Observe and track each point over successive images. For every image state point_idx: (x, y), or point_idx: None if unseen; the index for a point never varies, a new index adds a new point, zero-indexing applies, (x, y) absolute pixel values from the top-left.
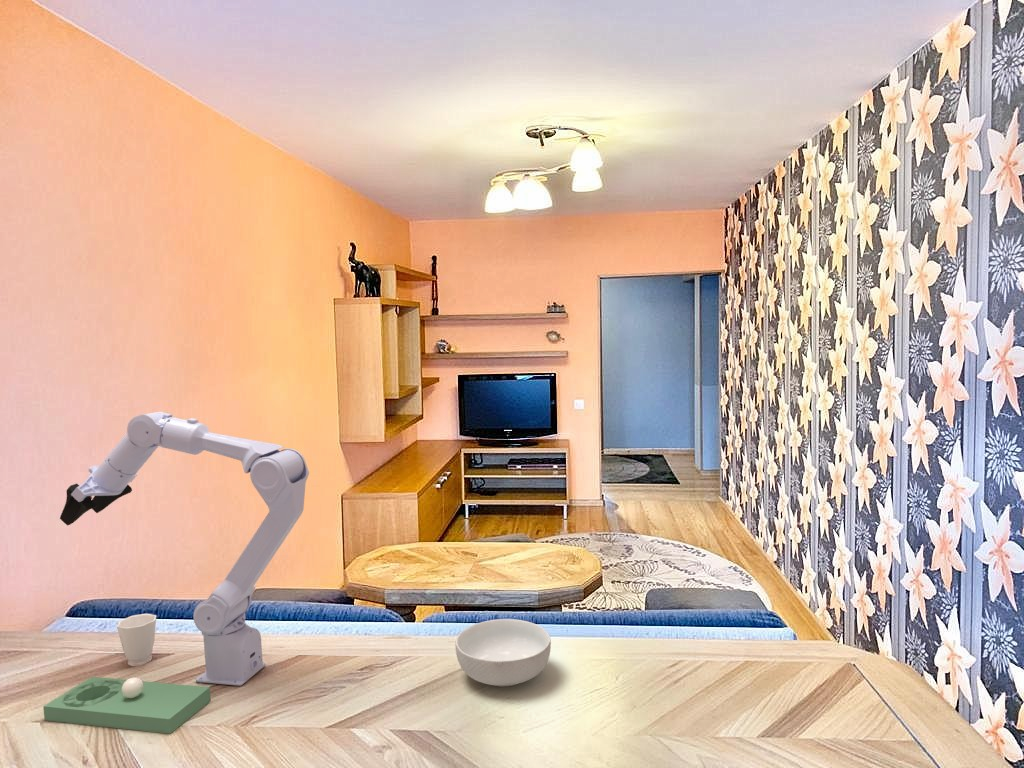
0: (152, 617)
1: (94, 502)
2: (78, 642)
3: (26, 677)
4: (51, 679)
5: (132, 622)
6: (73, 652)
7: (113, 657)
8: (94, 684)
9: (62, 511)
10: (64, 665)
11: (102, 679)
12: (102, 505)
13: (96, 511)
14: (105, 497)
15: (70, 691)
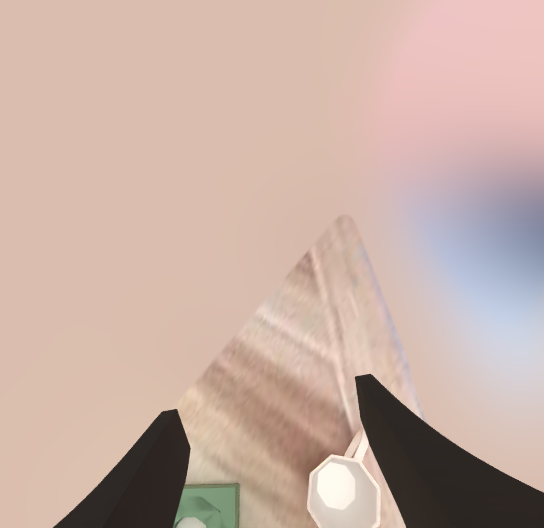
0: (375, 512)
1: (368, 408)
2: (353, 317)
3: (254, 341)
4: (255, 382)
5: (354, 463)
6: (327, 339)
7: (331, 420)
8: (212, 519)
9: (139, 438)
10: (292, 362)
11: (229, 519)
12: (379, 460)
13: (361, 418)
14: (402, 494)
15: (189, 494)
